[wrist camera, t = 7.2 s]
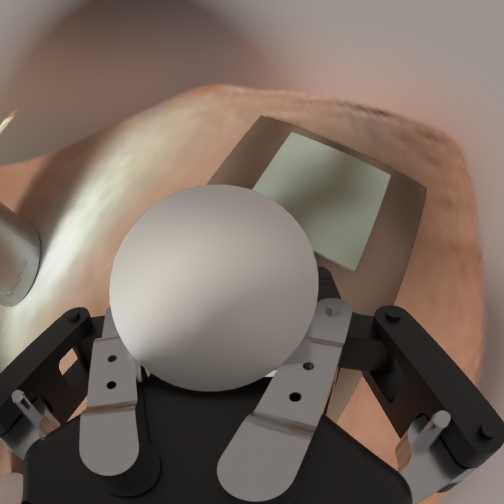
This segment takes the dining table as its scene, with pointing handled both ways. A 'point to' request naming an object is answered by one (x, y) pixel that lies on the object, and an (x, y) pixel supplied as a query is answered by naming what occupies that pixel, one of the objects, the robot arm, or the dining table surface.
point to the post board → (334, 214)
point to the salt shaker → (214, 287)
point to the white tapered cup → (11, 488)
